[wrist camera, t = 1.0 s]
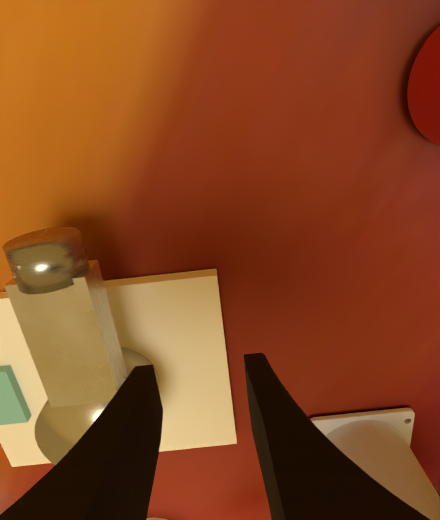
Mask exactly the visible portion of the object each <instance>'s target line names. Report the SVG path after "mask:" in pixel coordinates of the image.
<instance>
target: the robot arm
mask: <svg viewBox="0 0 440 520" xmlns="http://www.w3.org/2000/svg"><path fill="white" fill-rule="evenodd" d="M244 362H245V373H246V383H247V394H248V403H249V411H250V419H251V426H252V432H253V437H254V441H255V445H256V450H257V454H258V458H259V463H260V467H261V471H262V476H263V480H264V484H265V488H266V493H267V497H268V502H269V507H270V512H271V518H272V520H440V497H439V495H438V494H437V492H436V490H435V489H434V487H433V485H432V484H431V482H430V480H429V479H428V477H427V475H426V474H425V472H424V470H423V469H422V467H421V465H420V464H419V462H418V460H417V459H416V457H415V455H414V454H413V452H412V450H411V449H410V443H411V436H412V430H413V423H414V417H415V413H414V412H413V410H412V409H411V408H398V409H388V410H379V411H369V412H359V413H350V414H340V415H331V416H321V417H313V418H310V419H309V418H308V417H307V415H306V414H305V413H304V412H303V411H302V409H301V408H300V407H299V406H298V405H297V403H296V402H295V401H294V400H293V398H292V397H291V396H290V394H289V393H288V392H287V390H286V389H285V387H284V386H283V385H282V383H281V382H280V380H279V379H278V377H277V376H276V374H275V373H274V371H273V369H272V368H271V366H270V364H269V362H268V360H267V358H266V356H265V355H264V354H263V353H255V354H246V355H244ZM162 420H163V407H162V402H161V398H160V393H159V389H158V384H157V380H156V375H155V371H154V366H153V364H151V365H142V366H135V367H134V368H133V370H132V371H131V372H130V374H129V375H128V377H127V378H126V380H125V381H124V382H123V384H122V385H121V387H120V388H119V389H118V391H117V392H116V394H115V395H114V396H113V398H112V399H111V400H110V402H109V403H108V404H107V406H106V407H105V408H104V410H103V411H102V412H101V414H100V415H99V416H98V418H97V419H96V420H95V421H94V422H93V424H92V425H91V426H90V427H89V428H88V430H87V431H86V432H85V433H84V435H83V436H82V437H81V438H80V439H79V440H78V442H77V443H76V444H75V445H74V446H73V447H72V448H71V449H70V450H69V452H68V453H67V454H66V455H65V456H64V457H63V458H62V459H61V460H60V461H59V462H58V463H57V464H56V465H55V466H54V467H53V468H52V469H51V470H50V471H49V472H48V473H47V474H46V475H45V476H44V477H43V478H42V479H40V480H39V481H38V482H37V483H36V484H35V485H34V486H33V487H32V488H31V489H30V490H29V491H27V492H26V493H25V494H24V495H23V496H22V497H21V498H20V499H19V500H17V501H16V502H15V503H14V504H13V505H12V506H10V507H9V508H8V509H7V510H6V511H4V512H3V513H2V514H1V515H0V520H146V519H147V512H148V507H149V501H150V496H151V491H152V485H153V480H154V475H155V470H156V464H157V459H158V454H159V448H160V443H161V433H162Z"/></svg>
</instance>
